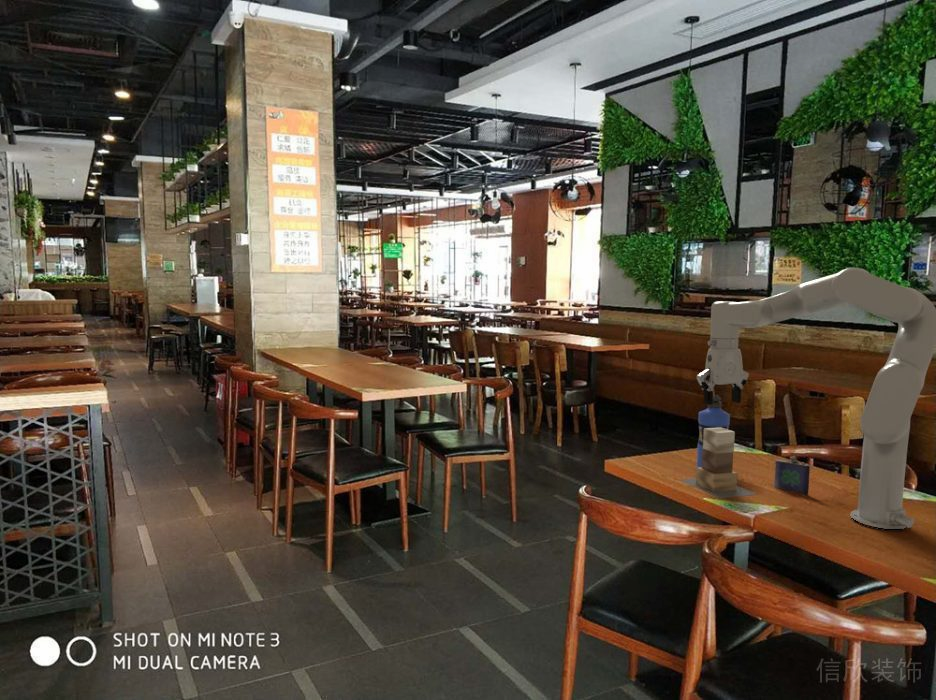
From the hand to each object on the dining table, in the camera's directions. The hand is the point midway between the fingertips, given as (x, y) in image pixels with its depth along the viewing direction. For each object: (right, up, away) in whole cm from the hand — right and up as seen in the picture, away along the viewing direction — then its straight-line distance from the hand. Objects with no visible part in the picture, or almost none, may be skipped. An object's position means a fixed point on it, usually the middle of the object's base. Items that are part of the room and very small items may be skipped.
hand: (722, 403), depth 193 cm
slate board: (0, -26, +3) cm, 26 cm away
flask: (+21, -26, +2) cm, 34 cm away
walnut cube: (-1, -20, +2) cm, 20 cm away
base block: (-1, -25, +3) cm, 25 cm away
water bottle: (+5, -24, +22) cm, 33 cm away
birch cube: (-1, -14, +2) cm, 14 cm away
